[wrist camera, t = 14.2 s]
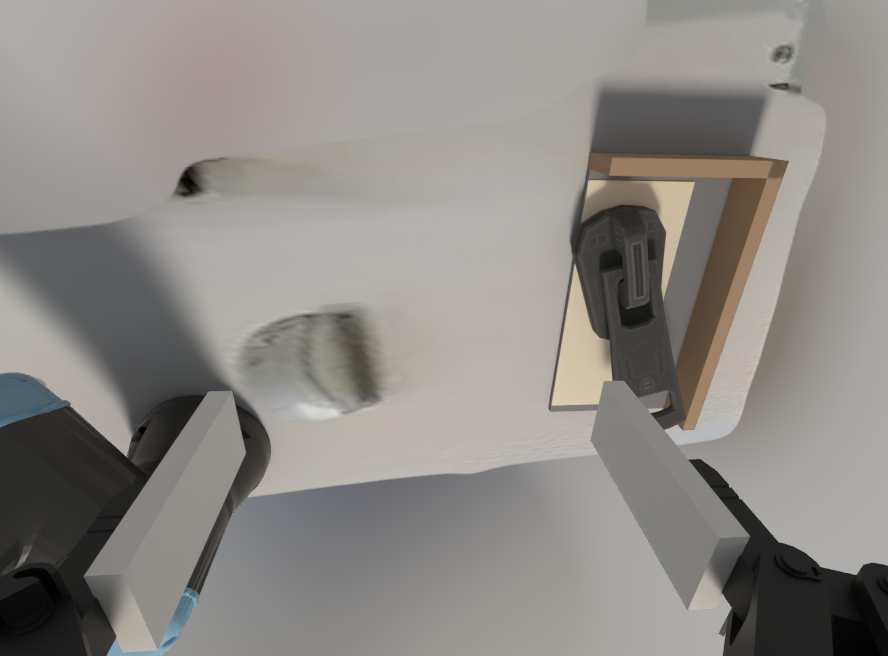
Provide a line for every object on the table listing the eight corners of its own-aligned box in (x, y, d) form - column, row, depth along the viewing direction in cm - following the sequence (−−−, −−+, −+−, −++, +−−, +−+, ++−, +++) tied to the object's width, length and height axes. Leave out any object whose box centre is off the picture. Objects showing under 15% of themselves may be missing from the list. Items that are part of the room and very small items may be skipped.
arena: (548, 408, 56) (561, 434, 52) (590, 152, 43) (612, 157, 38) (671, 404, 58) (694, 429, 54) (749, 155, 44) (788, 161, 40)
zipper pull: (614, 445, 50) (592, 235, 39) (592, 409, 56) (567, 218, 45) (692, 424, 50) (692, 208, 39) (661, 391, 56) (654, 194, 45)
